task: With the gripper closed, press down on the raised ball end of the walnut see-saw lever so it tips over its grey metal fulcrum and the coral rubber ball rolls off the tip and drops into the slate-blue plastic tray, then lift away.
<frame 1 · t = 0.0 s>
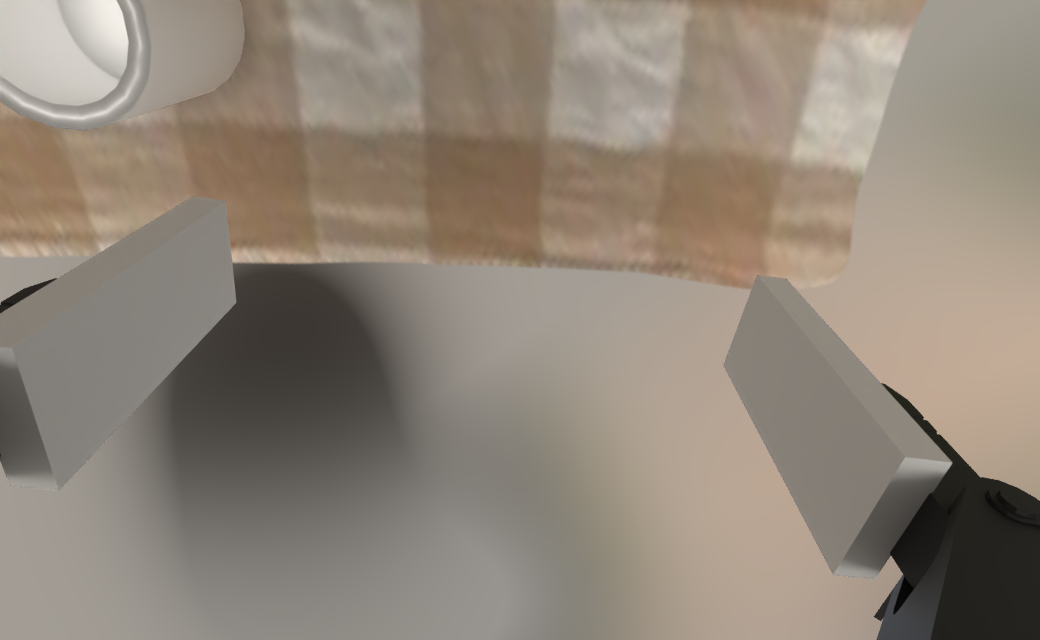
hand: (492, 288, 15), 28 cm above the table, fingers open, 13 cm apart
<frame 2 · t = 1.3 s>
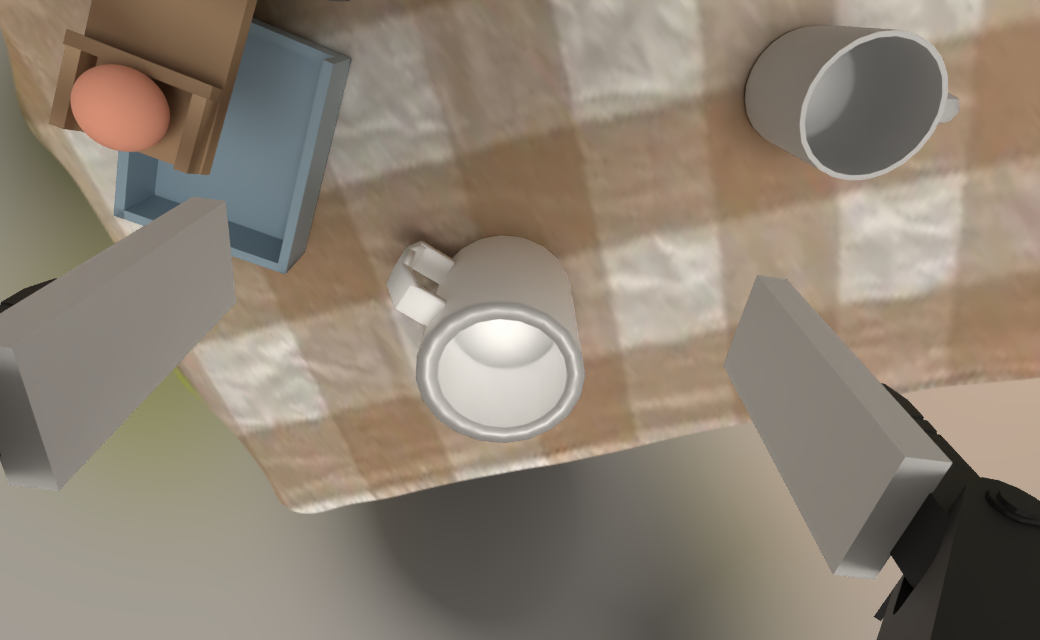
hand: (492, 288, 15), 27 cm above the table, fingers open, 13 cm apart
mug: (494, 287, 45), on the table
tray: (244, 131, 39), on the table
ball: (122, 109, 25), point 14 cm above the table, tilted 7°, touching lever
cup: (819, 88, 38), on the table
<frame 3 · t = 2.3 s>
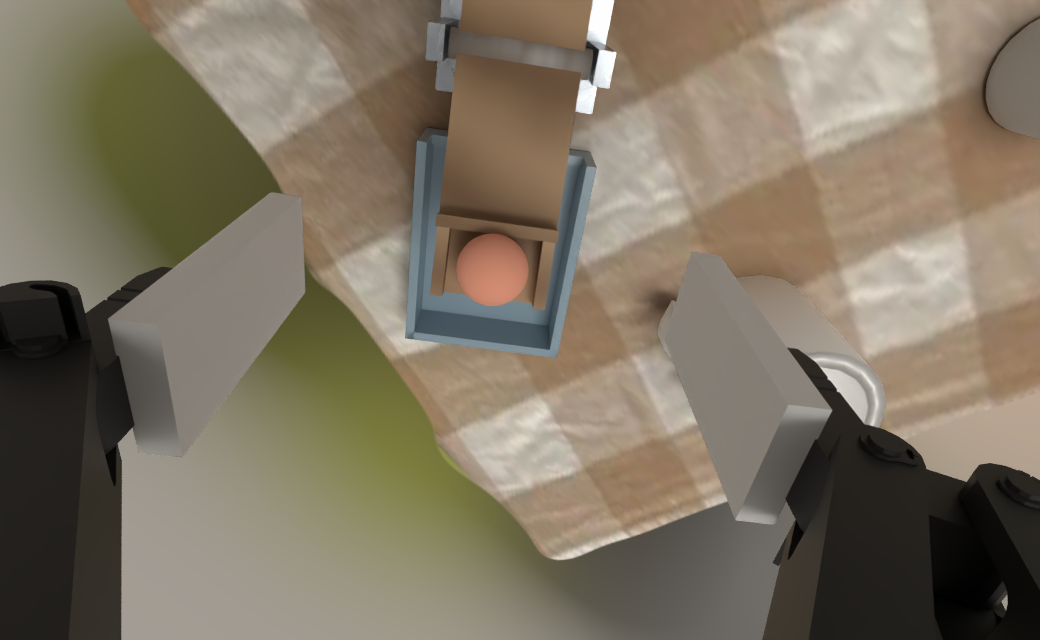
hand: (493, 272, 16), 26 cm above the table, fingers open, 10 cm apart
lever: (519, 59, 30), point 8 cm above the table, hinge at -15.9°, touching ball
mug: (734, 325, 46), on the table
tray: (496, 237, 42), on the table
ball: (492, 270, 28), point 14 cm above the table, tilted 7°, touching lever
fulcrum: (522, 40, 36), on the table
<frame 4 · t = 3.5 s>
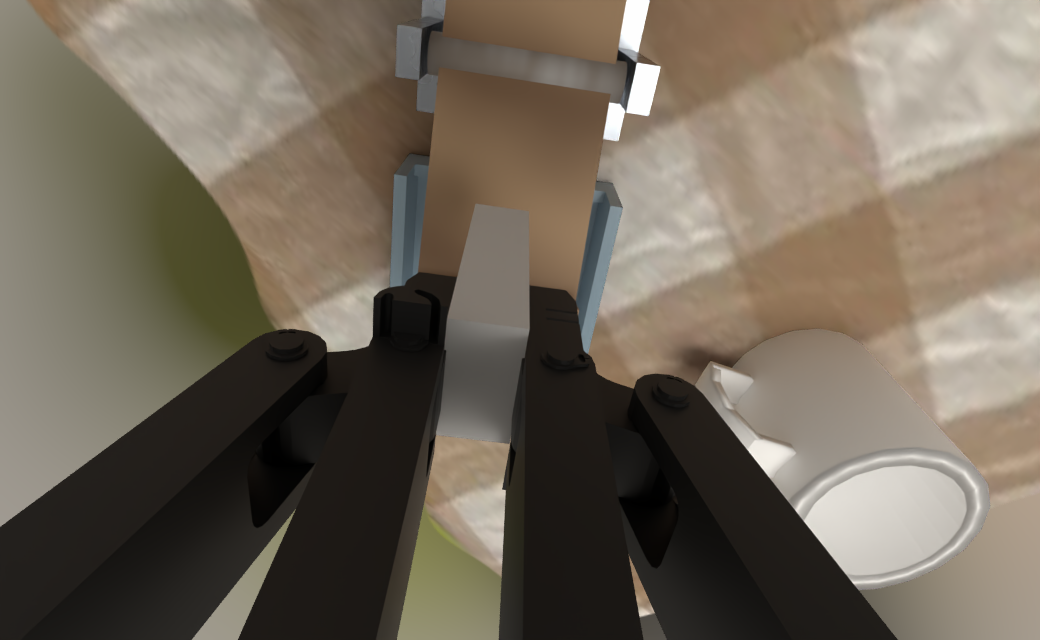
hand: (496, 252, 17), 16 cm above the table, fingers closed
lever: (526, 74, 22), point 8 cm above the table, hinge at -15.9°, touching ball
mug: (781, 386, 38), on the table
tray: (496, 284, 35), on the table
fulcrum: (528, 45, 28), on the table
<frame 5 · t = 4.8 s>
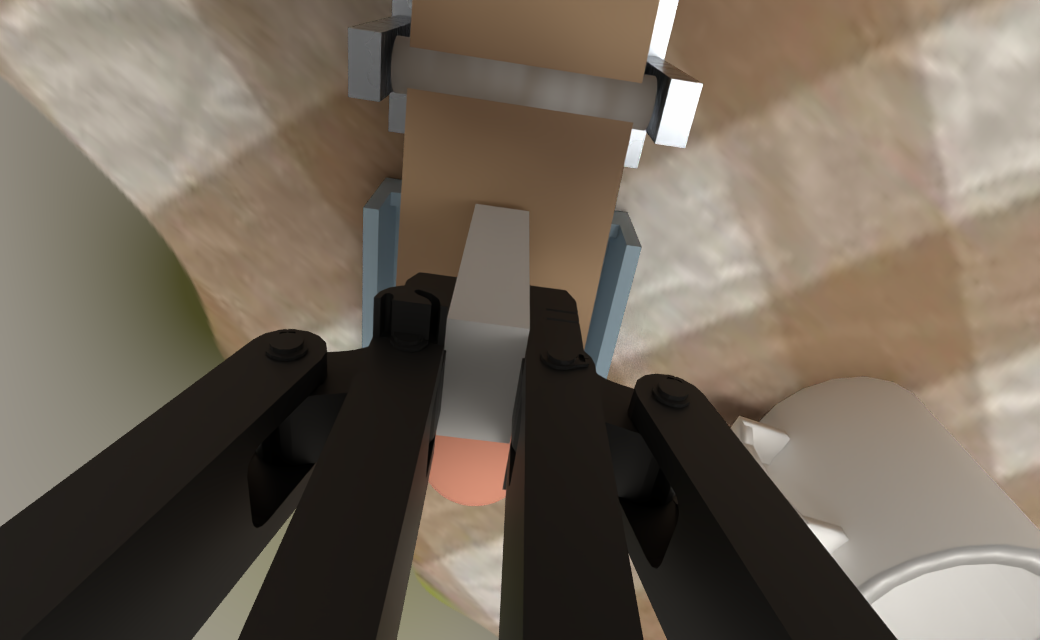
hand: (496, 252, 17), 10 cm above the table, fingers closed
lever: (524, 81, 17), point 8 cm above the table, hinge at -4.7°, touching ball, gripper
mug: (818, 438, 33), on the table
tray: (490, 327, 30), on the table
ball: (476, 446, 18), point 12 cm above the table, touching lever
fulcrum: (527, 49, 23), on the table
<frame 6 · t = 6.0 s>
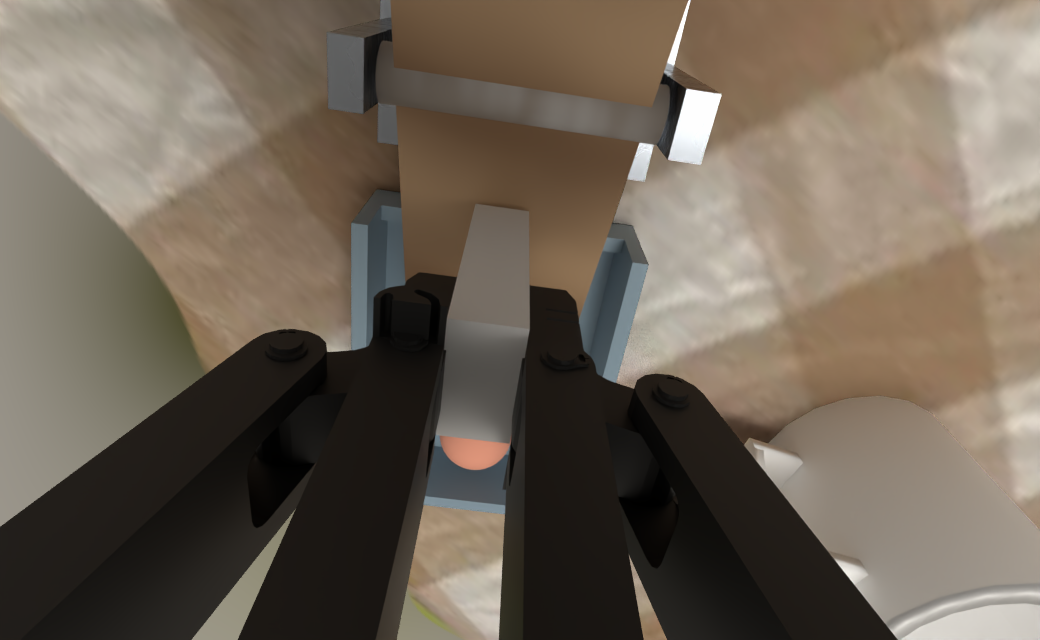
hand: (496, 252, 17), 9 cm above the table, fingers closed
lever: (526, 66, 15), point 8 cm above the table, hinge at 23.4°, touching gripper
mug: (831, 459, 32), on the table
tray: (487, 345, 28), on the table
ball: (476, 432, 28), point 2 cm above the table, tilted 102°, touching tray
fulcrum: (526, 54, 22), on the table
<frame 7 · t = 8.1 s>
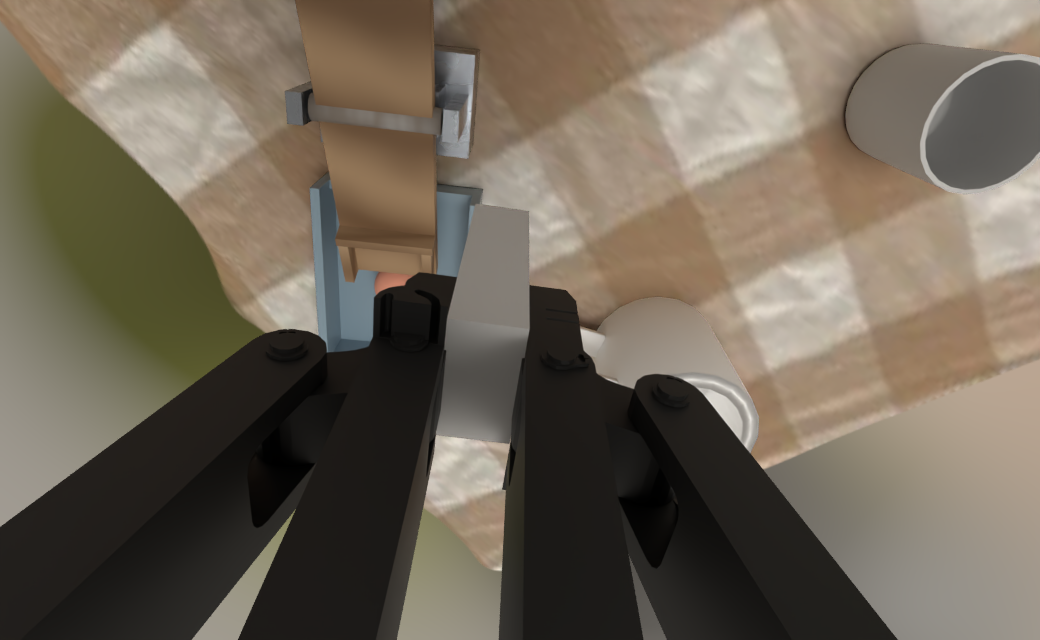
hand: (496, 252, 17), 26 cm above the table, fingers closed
lever: (381, 101, 32), point 8 cm above the table, hinge at 23.8°
mug: (639, 344, 48), on the table
tray: (404, 270, 45), on the table
ball: (398, 286, 43), point 2 cm above the table, tilted 149°, touching tray
fulcrum: (407, 91, 39), on the table
cup: (917, 97, 39), on the table
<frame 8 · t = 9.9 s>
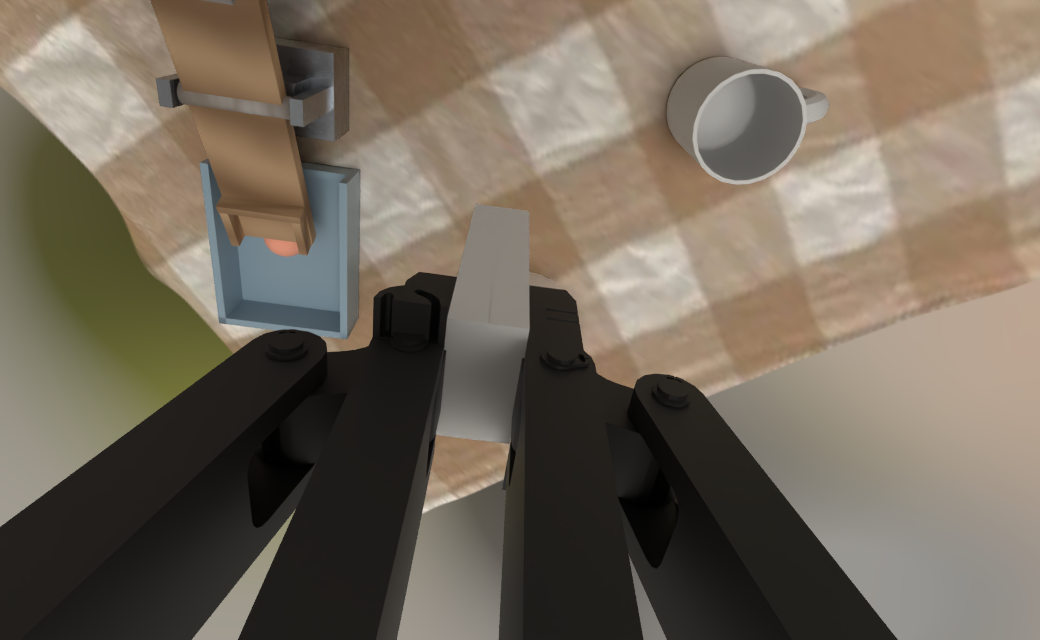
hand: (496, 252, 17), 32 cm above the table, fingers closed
lever: (244, 89, 38), point 8 cm above the table, hinge at 23.8°
mug: (509, 313, 55), on the table
tray: (296, 239, 51), on the table
ball: (286, 235, 49), point 2 cm above the table, tilted 98°, touching tray
fulcrum: (288, 81, 45), on the table
cup: (728, 102, 46), on the table
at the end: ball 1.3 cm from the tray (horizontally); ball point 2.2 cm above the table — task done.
